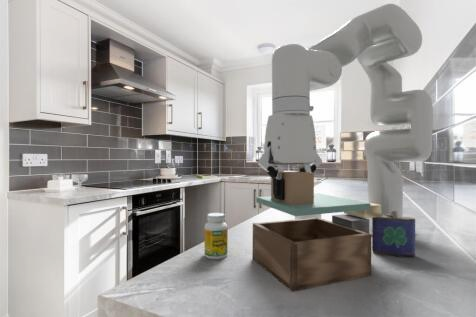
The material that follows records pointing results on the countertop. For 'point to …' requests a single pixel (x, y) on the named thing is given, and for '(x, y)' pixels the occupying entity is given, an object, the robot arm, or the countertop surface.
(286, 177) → the lid
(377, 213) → the pale gold block
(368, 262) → the wooden box
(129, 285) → the countertop surface
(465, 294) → the countertop surface
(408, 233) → the flask
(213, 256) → the supplement bottle
